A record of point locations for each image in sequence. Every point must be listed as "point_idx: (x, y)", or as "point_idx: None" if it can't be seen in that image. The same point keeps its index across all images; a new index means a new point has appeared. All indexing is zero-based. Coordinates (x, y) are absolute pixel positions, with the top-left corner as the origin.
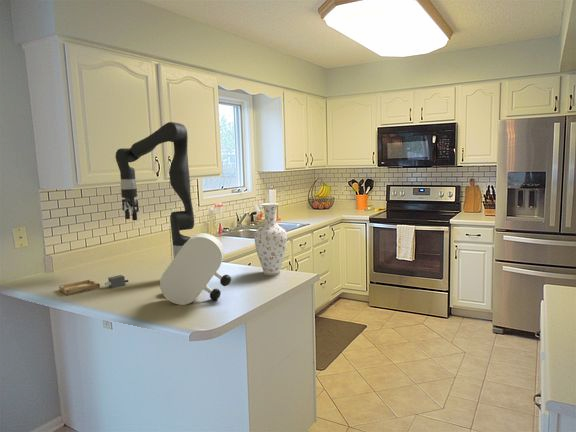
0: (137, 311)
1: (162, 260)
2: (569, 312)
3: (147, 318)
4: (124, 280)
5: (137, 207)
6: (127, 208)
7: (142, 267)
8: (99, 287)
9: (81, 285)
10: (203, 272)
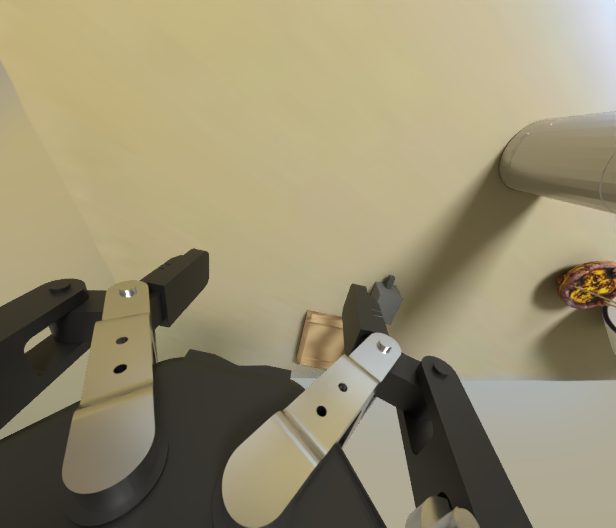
0: (545, 365)
1: None
2: None
3: (586, 376)
4: (399, 293)
5: (466, 430)
6: (155, 353)
7: (273, 130)
8: None
9: (313, 332)
10: None
